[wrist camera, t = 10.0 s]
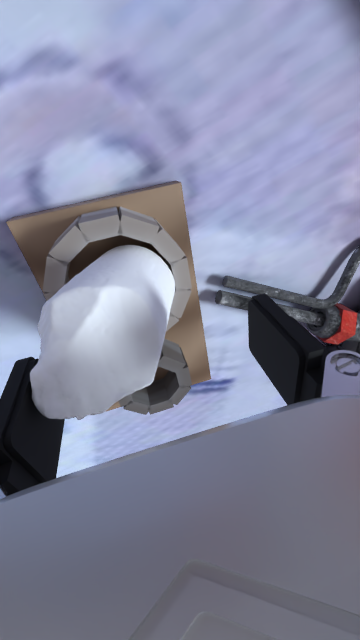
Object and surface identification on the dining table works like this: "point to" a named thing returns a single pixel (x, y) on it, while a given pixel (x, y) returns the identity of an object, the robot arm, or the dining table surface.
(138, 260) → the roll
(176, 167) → the dining table surface
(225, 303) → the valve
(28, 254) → the fitting board
